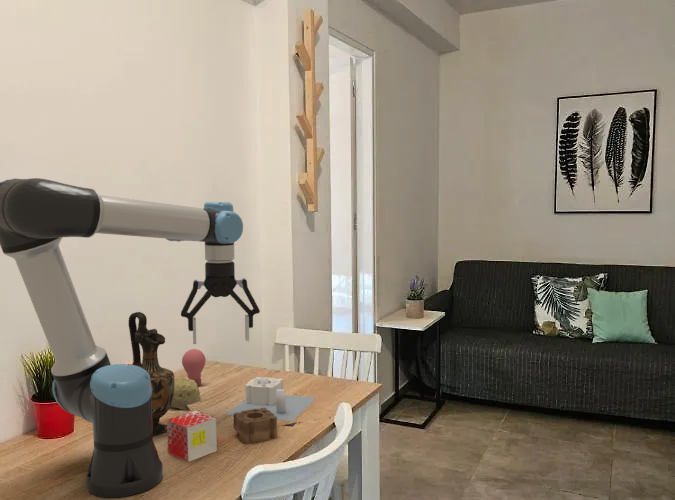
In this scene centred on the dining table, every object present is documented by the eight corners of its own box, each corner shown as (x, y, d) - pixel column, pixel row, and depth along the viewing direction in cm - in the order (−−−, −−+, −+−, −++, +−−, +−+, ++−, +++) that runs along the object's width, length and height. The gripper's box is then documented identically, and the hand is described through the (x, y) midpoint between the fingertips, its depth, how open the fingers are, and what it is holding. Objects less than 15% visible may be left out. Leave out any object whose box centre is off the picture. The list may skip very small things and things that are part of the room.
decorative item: (201, 416, 177) (206, 383, 183) (192, 405, 169) (197, 371, 174) (169, 416, 178) (175, 383, 183) (158, 405, 170) (164, 371, 175)
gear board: (292, 426, 159) (292, 398, 158) (225, 419, 164) (224, 392, 164) (316, 402, 177) (316, 377, 176) (255, 397, 183) (254, 372, 182)
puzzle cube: (188, 462, 139) (187, 427, 138) (168, 452, 144) (166, 419, 143) (217, 450, 145) (216, 417, 144) (196, 442, 150) (195, 410, 149)
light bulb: (180, 385, 194) (179, 348, 193) (203, 382, 197) (202, 345, 196) (185, 392, 188) (184, 353, 186) (208, 389, 190) (207, 350, 189)
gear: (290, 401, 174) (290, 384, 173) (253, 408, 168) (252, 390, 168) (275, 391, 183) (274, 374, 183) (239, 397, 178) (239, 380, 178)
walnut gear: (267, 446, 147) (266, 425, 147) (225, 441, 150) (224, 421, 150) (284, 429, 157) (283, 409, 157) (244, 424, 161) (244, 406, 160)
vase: (149, 442, 150) (145, 320, 147) (115, 432, 156) (110, 315, 153) (185, 427, 159) (182, 311, 157) (152, 418, 166) (148, 307, 163)
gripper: (265, 258, 168) (266, 335, 170) (170, 261, 162) (172, 341, 164) (269, 261, 161) (270, 341, 163) (169, 264, 155) (171, 347, 157)
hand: (221, 341), depth 163 cm, fingers open, 13 cm apart
